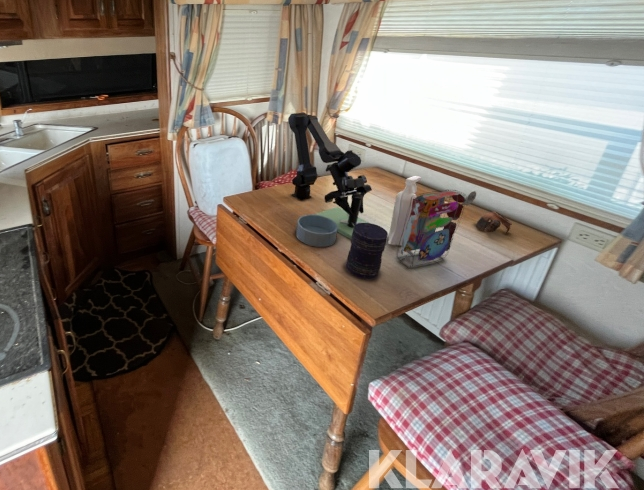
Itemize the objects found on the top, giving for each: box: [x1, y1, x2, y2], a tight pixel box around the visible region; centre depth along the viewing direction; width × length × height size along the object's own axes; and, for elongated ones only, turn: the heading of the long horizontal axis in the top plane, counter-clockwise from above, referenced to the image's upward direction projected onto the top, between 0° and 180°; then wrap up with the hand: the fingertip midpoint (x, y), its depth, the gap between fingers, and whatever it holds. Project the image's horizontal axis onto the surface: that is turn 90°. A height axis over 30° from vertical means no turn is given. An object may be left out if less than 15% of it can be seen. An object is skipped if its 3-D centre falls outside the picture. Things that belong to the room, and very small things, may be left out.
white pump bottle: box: [387, 175, 422, 247], centre depth 126 cm, size 7×12×25 cm, turn 126°
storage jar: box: [345, 222, 389, 281], centre depth 113 cm, size 10×10×18 cm
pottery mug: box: [475, 210, 513, 234], centre depth 136 cm, size 12×10×8 cm
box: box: [395, 189, 477, 269], centre depth 117 cm, size 25×6×24 cm, turn 108°
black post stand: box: [340, 194, 364, 228], centre depth 136 cm, size 9×8×13 cm
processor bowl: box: [295, 214, 338, 248], centre depth 134 cm, size 14×14×6 cm
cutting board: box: [313, 206, 370, 240], centre depth 143 cm, size 20×14×2 cm
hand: (357, 214), depth 135 cm, fingers open, 5 cm apart
